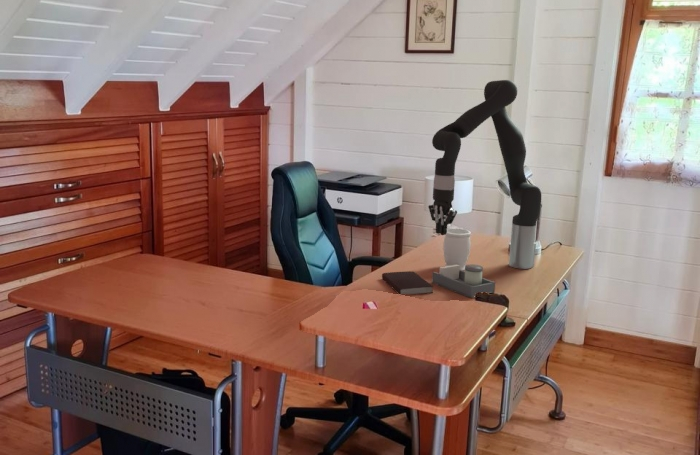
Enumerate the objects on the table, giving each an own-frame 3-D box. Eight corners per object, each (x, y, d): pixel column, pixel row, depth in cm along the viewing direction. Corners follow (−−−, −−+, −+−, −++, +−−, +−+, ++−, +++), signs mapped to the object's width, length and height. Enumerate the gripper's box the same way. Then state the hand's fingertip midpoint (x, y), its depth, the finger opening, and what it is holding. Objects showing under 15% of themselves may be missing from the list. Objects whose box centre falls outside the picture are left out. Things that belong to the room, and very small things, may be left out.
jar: (460, 273, 259) (463, 235, 255) (437, 268, 265) (439, 231, 261) (473, 268, 267) (476, 231, 264) (450, 263, 273) (452, 227, 270)
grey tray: (455, 278, 253) (455, 268, 252) (494, 293, 237) (495, 282, 236) (432, 282, 246) (432, 272, 246) (470, 298, 230) (471, 287, 229)
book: (399, 296, 231) (399, 287, 231) (381, 280, 249) (381, 271, 249) (433, 294, 235) (434, 285, 234) (413, 278, 253) (414, 270, 252)
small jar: (459, 288, 238) (461, 265, 236) (472, 285, 242) (474, 263, 240) (472, 293, 233) (473, 270, 231) (485, 290, 237) (486, 267, 235)
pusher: (456, 277, 250) (457, 264, 249) (458, 278, 249) (459, 265, 248) (438, 280, 245) (439, 267, 244) (441, 281, 244) (442, 268, 243)
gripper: (423, 185, 248) (420, 231, 252) (449, 190, 237) (446, 239, 241) (438, 183, 252) (436, 229, 256) (464, 189, 241) (461, 236, 245)
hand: (441, 233), depth 248 cm, fingers closed
